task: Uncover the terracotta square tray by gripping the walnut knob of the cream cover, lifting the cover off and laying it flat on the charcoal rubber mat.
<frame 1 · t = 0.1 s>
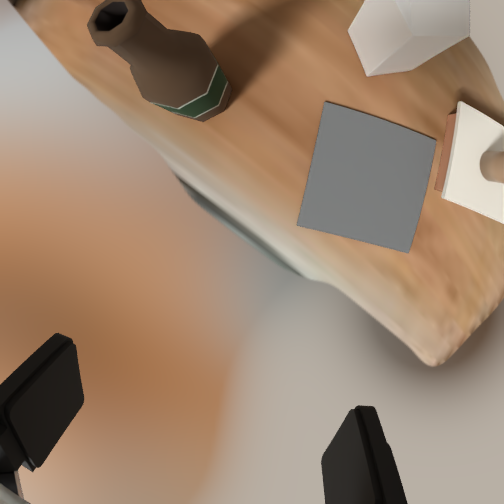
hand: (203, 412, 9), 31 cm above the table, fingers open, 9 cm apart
cover: (486, 165, 30), point 4 cm above the table, touching terracotta square tray
mat: (371, 179, 36), on the table
terracotta square tray: (470, 164, 34), on the table
milk carton: (379, 50, 31), on the table
beer bottle: (202, 94, 35), on the table
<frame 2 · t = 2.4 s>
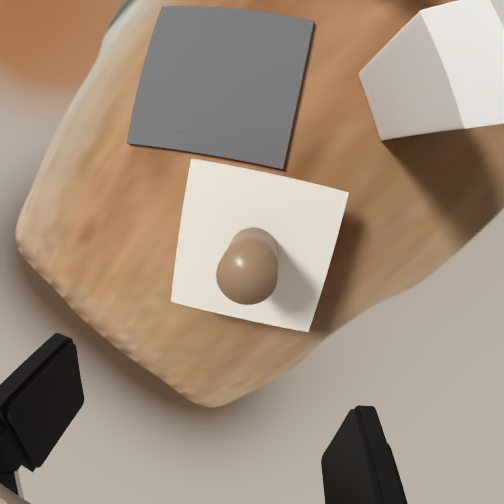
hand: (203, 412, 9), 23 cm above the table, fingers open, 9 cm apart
cover: (254, 248, 26), point 4 cm above the table, touching terracotta square tray
mat: (217, 75, 26), on the table
milk carton: (399, 101, 25), on the table
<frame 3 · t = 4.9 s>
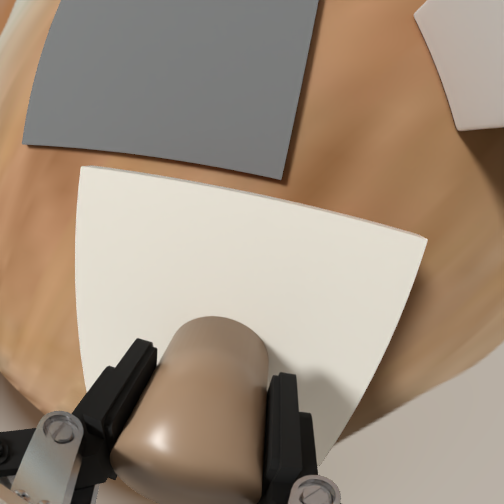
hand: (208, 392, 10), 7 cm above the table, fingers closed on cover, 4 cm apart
cover: (221, 348, 12), point 4 cm above the table, touching terracotta square tray, gripper
mat: (161, 15, 12), on the table
milk carton: (476, 68, 12), on the table
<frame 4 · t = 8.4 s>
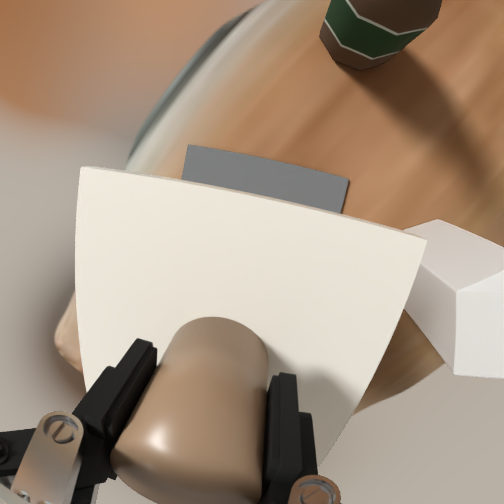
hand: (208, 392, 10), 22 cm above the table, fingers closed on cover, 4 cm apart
cover: (221, 349, 12), point 19 cm above the table, touching gripper
mat: (251, 237, 31), on the table
milk carton: (414, 256, 31), on the table
beer bottle: (354, 41, 25), on the table
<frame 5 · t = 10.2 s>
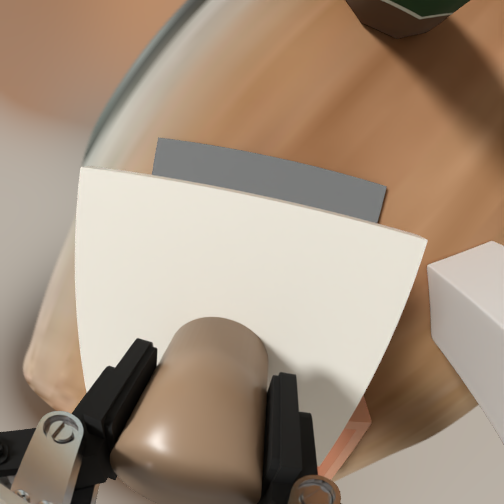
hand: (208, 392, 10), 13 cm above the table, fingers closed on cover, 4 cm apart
cover: (221, 349, 12), point 10 cm above the table, touching gripper
mat: (248, 268, 22), on the table
terracotta square tray: (289, 424, 26), on the table
milk carton: (461, 288, 21), on the table
beer bottle: (386, 2, 16), on the table
when the fingers open (5 cm above the table, at t = 12.0 s): cover drops 2 cm, resting on mat.
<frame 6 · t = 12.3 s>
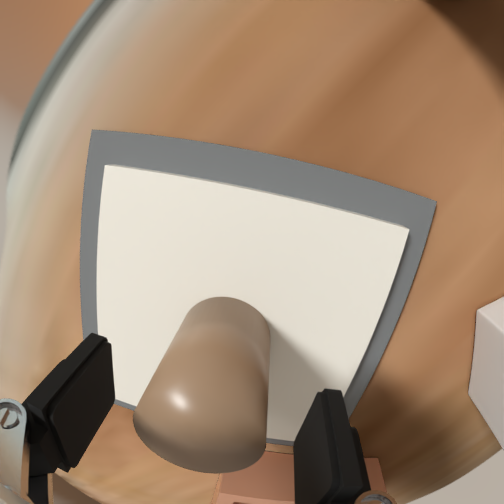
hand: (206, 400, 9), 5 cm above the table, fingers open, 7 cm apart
cover: (227, 328, 14), resting on mat
mat: (228, 323, 15), on the table
terracotta square tray: (285, 490, 19), on the table
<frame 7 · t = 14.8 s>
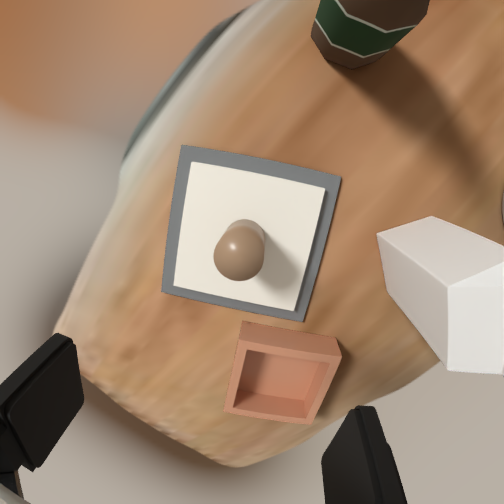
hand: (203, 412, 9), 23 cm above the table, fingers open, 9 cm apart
cover: (245, 237, 31), resting on mat
mat: (245, 236, 31), on the table
terracotta square tray: (278, 367, 35), on the table
milk carton: (408, 253, 31), on the table
beer bottle: (345, 39, 25), on the table
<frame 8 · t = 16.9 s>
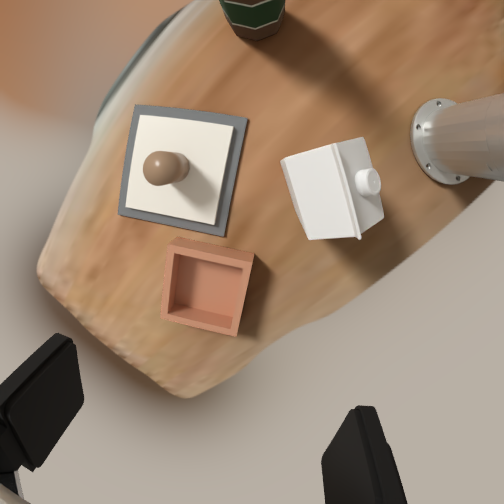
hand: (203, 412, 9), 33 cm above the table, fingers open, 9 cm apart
cover: (176, 167, 39), resting on mat
mat: (177, 167, 39), on the table
terracotta square tray: (208, 281, 44), on the table
milk carton: (313, 179, 39), on the table
beer bottle: (255, 20, 33), on the table
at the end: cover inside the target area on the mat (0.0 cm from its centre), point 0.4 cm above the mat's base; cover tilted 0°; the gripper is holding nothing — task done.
